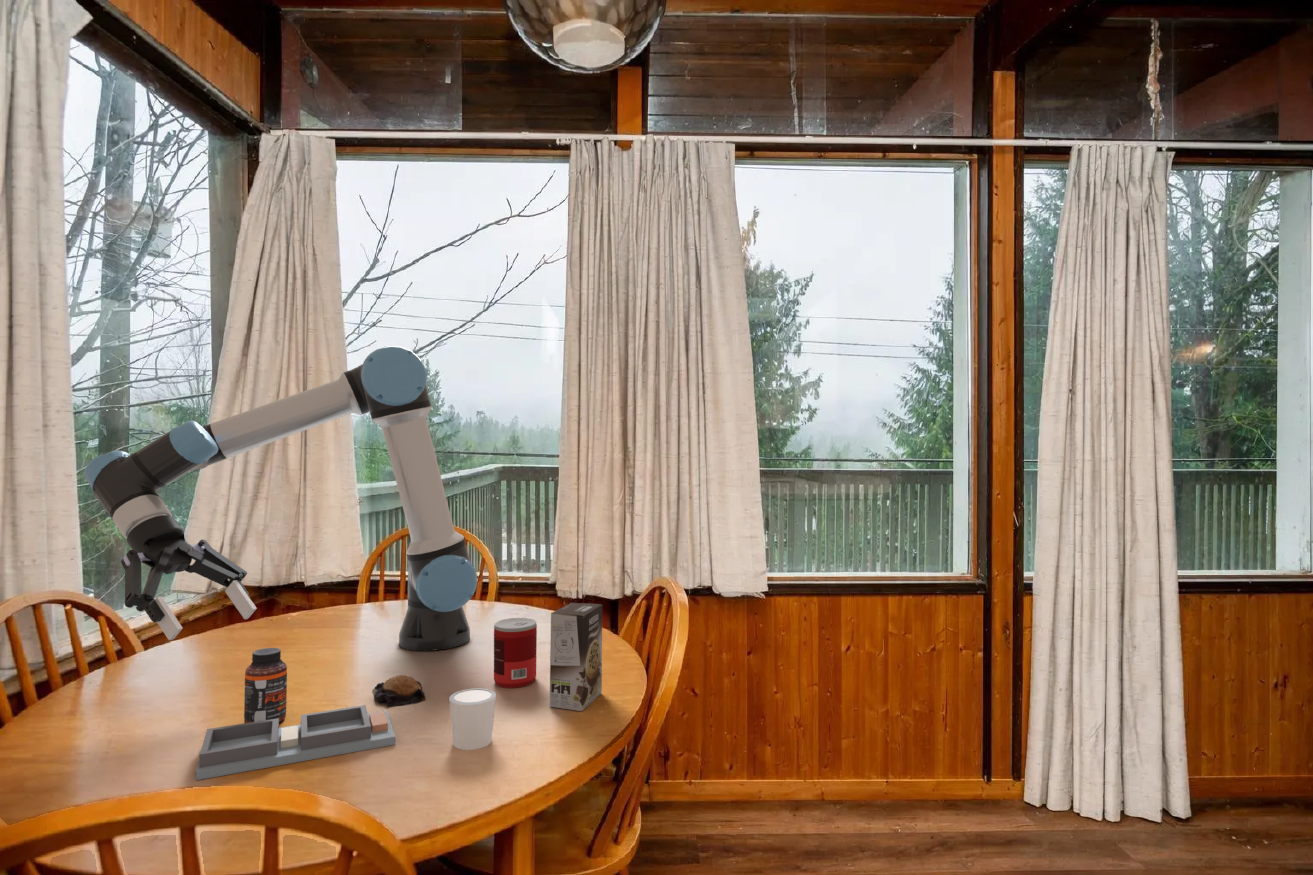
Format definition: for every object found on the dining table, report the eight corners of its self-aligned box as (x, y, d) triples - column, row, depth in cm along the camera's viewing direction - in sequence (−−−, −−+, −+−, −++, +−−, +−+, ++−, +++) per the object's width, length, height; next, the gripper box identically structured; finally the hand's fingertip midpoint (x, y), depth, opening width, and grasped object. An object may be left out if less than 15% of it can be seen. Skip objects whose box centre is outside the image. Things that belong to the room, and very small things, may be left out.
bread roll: (369, 693, 128) (369, 673, 128) (417, 685, 132) (417, 665, 132) (378, 713, 119) (378, 691, 119) (430, 703, 123) (430, 682, 123)
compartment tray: (386, 717, 115) (386, 699, 115) (395, 744, 105) (395, 724, 105) (205, 747, 104) (205, 727, 104) (195, 780, 94) (195, 757, 94)
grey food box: (583, 712, 118) (584, 615, 118) (548, 707, 120) (549, 612, 120) (603, 693, 127) (604, 603, 127) (570, 689, 129) (570, 600, 129)
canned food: (544, 677, 135) (544, 620, 135) (519, 691, 128) (519, 630, 128) (511, 671, 138) (511, 615, 138) (485, 684, 131) (485, 625, 131)
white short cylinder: (453, 755, 102) (454, 706, 102) (444, 737, 108) (444, 691, 108) (501, 746, 105) (501, 699, 105) (489, 729, 111) (489, 684, 111)
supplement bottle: (267, 730, 110) (268, 657, 110) (234, 727, 111) (235, 655, 111) (294, 715, 116) (295, 646, 116) (263, 712, 117) (263, 644, 117)
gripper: (204, 533, 134) (265, 619, 129) (58, 553, 110) (126, 660, 106) (226, 506, 132) (289, 593, 128) (82, 521, 109) (152, 628, 104)
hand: (215, 623), depth 117 cm, fingers open, 13 cm apart
